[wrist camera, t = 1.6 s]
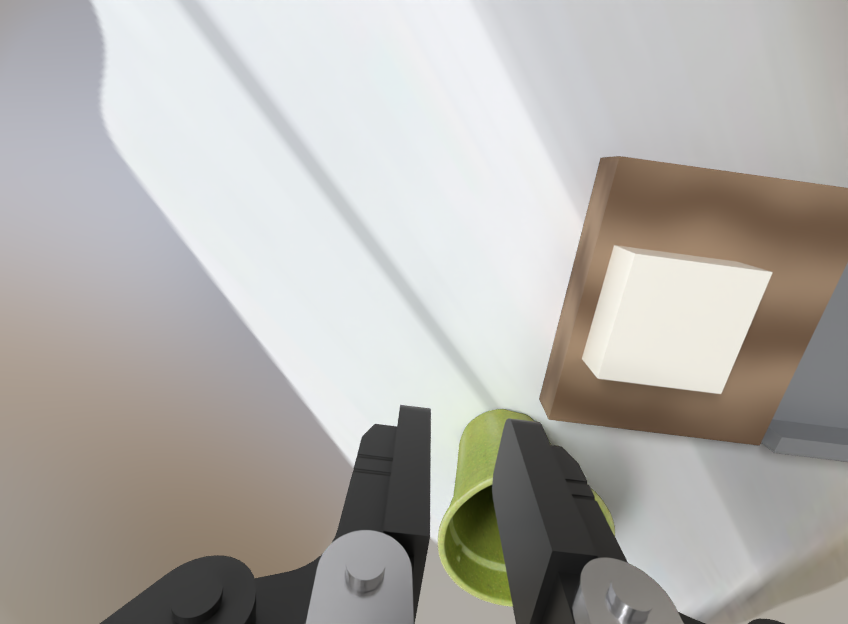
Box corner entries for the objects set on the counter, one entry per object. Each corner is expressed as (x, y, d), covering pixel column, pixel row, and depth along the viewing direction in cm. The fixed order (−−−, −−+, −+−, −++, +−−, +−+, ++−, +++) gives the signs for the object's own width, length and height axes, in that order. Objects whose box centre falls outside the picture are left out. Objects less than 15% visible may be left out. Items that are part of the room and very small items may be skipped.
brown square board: (600, 157, 23) (619, 156, 21) (836, 190, 24) (881, 192, 21) (539, 399, 29) (548, 419, 26) (732, 423, 29) (759, 445, 27)
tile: (614, 245, 22) (635, 253, 20) (737, 261, 23) (772, 272, 20) (581, 358, 25) (597, 378, 22) (693, 372, 25) (721, 394, 23)
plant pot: (411, 425, 30) (404, 523, 21) (526, 363, 28) (566, 443, 20) (477, 511, 32) (493, 628, 24) (586, 458, 30) (644, 566, 22)
